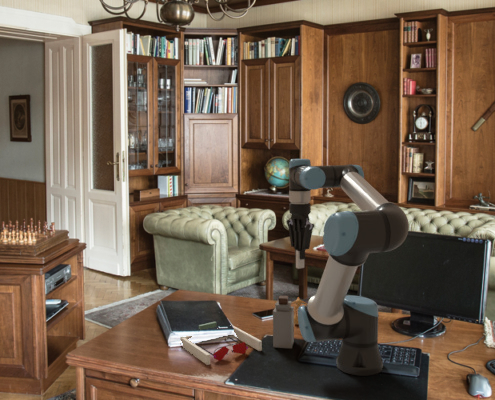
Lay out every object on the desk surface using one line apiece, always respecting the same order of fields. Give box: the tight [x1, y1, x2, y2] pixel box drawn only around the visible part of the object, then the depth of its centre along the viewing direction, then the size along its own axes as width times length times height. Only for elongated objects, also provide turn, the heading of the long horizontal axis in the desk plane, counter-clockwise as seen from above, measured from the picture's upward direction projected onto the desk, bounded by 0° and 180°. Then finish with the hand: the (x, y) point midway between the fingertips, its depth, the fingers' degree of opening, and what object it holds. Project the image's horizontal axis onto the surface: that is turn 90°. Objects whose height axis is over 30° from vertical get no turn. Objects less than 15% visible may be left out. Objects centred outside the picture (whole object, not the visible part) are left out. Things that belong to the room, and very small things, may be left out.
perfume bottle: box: [272, 295, 295, 349], centre depth 204 cm, size 7×7×18 cm
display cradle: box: [179, 321, 263, 366], centre depth 202 cm, size 20×22×6 cm
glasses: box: [196, 336, 249, 361], centre depth 200 cm, size 14×16×5 cm
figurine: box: [291, 296, 308, 326], centre depth 224 cm, size 8×6×12 cm
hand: (300, 267), depth 200 cm, fingers closed
